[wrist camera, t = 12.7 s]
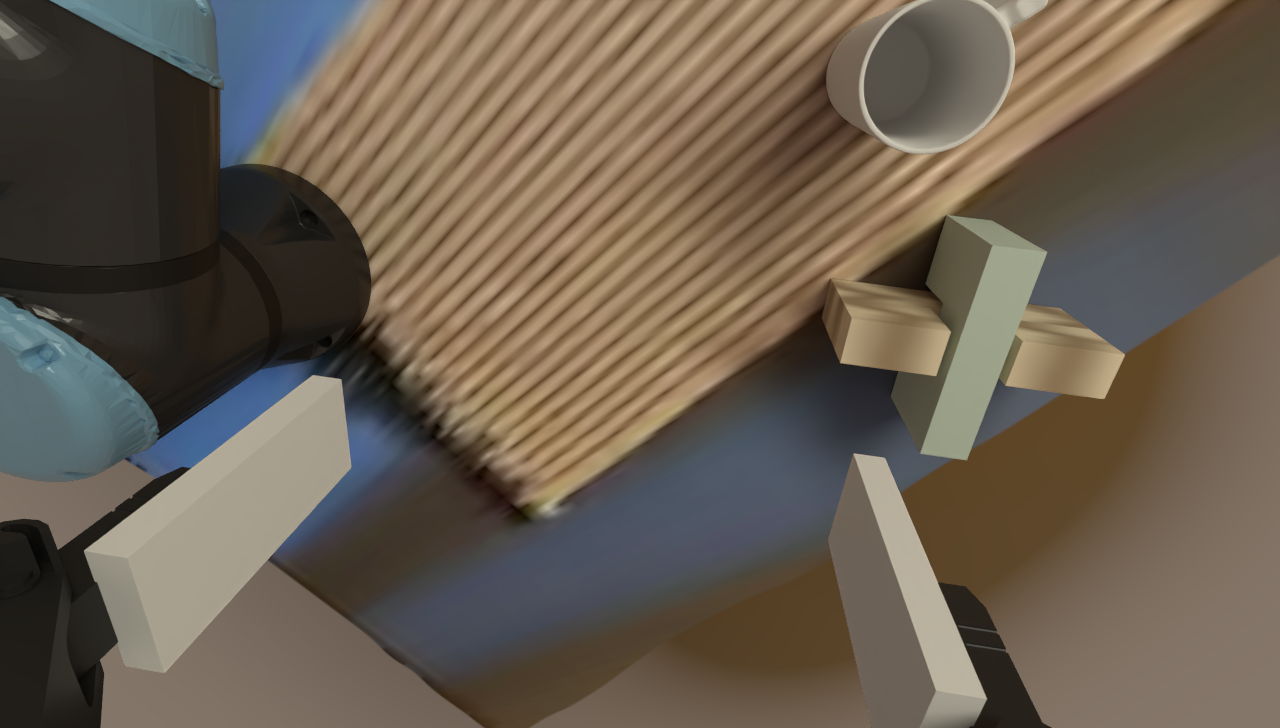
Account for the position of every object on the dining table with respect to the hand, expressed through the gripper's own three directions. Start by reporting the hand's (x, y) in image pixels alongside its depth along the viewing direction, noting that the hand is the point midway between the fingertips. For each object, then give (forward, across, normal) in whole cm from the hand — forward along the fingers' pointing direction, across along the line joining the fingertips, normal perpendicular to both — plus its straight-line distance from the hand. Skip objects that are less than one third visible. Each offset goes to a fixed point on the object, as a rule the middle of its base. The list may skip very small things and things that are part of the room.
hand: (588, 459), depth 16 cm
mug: (+32, +13, +11) cm, 36 cm away
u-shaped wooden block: (+32, +20, -5) cm, 38 cm away
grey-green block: (+32, +20, -5) cm, 38 cm away
